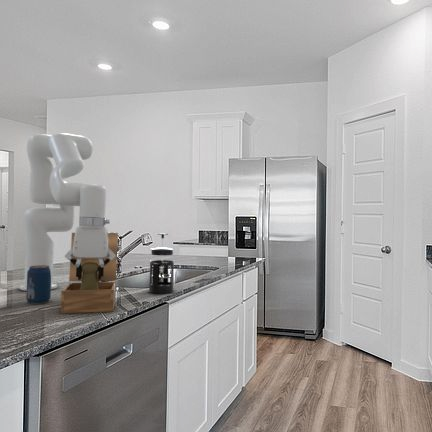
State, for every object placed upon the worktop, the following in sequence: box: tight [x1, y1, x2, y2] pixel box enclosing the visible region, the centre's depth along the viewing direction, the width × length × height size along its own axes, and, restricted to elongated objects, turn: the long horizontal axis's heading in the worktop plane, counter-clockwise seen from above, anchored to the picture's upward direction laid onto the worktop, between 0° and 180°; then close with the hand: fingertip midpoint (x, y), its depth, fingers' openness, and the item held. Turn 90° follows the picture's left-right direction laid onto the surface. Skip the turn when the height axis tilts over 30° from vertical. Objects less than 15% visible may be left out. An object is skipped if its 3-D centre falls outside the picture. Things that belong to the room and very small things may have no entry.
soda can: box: [26, 265, 52, 305], centre depth 143 cm, size 7×7×12 cm
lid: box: [68, 232, 119, 282], centre depth 147 cm, size 16×15×1 cm
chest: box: [60, 281, 117, 315], centre depth 138 cm, size 16×15×7 cm
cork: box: [80, 262, 99, 290], centre depth 138 cm, size 6×6×11 cm
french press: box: [148, 232, 175, 295], centre depth 167 cm, size 12×9×23 cm
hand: (89, 278), depth 138 cm, fingers closed on cork, 5 cm apart
